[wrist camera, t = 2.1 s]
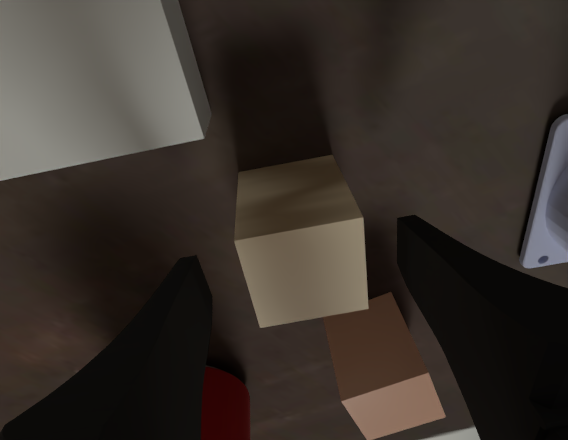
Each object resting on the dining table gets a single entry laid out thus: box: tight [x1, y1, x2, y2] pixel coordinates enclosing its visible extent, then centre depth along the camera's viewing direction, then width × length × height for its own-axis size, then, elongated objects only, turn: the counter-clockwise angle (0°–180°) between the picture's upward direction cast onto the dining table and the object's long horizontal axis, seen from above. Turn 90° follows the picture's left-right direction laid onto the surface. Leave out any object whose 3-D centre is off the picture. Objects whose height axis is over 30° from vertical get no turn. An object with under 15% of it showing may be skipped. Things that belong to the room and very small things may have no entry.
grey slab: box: [0, 0, 212, 181], centre depth 11 cm, size 7×7×3 cm
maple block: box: [234, 155, 369, 328], centre depth 14 cm, size 4×4×5 cm
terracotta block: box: [323, 292, 446, 440], centre depth 19 cm, size 4×4×5 cm
